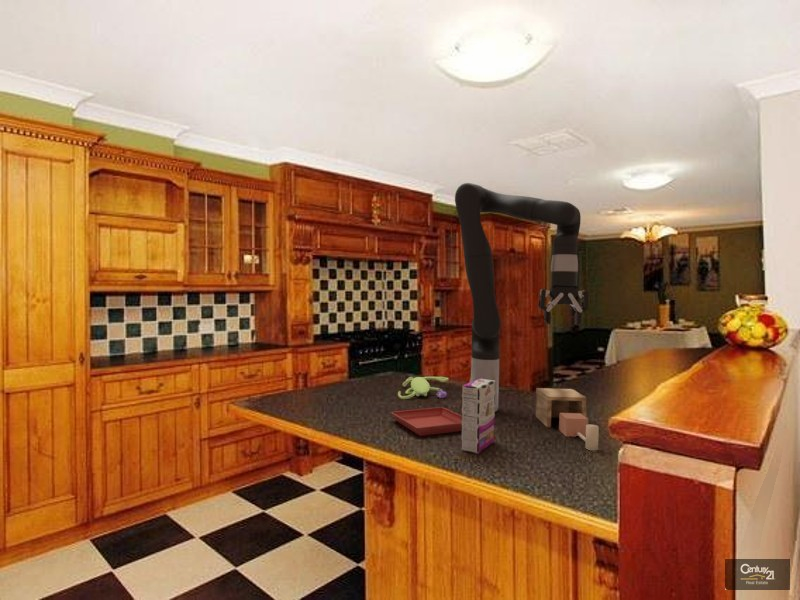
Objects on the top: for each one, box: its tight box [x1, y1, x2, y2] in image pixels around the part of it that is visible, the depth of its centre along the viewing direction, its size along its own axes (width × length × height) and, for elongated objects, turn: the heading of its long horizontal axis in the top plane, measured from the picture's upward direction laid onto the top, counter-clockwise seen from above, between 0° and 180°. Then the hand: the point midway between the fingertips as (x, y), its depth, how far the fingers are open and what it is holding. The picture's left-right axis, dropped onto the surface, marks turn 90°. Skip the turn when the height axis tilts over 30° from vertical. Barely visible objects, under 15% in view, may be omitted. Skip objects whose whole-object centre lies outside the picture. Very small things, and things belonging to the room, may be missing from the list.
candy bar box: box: [460, 379, 496, 455], centre depth 120 cm, size 11×5×16 cm, turn 148°
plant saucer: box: [391, 407, 462, 437], centre depth 137 cm, size 18×18×3 cm
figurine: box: [397, 376, 449, 400], centre depth 182 cm, size 18×27×6 cm
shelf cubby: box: [534, 387, 588, 428], centre depth 145 cm, size 11×12×9 cm
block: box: [558, 413, 600, 451], centre depth 127 cm, size 6×18×6 cm, turn 179°
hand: (562, 324), depth 141 cm, fingers open, 8 cm apart
